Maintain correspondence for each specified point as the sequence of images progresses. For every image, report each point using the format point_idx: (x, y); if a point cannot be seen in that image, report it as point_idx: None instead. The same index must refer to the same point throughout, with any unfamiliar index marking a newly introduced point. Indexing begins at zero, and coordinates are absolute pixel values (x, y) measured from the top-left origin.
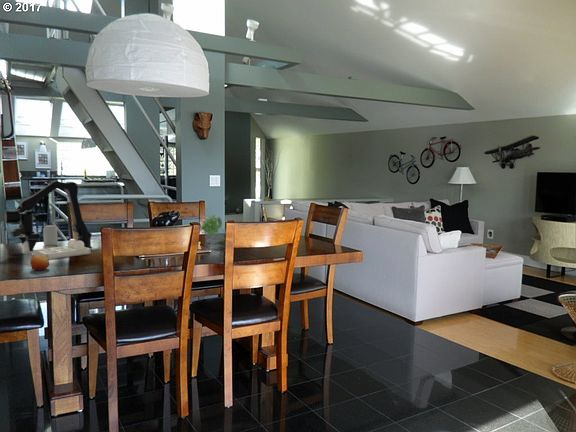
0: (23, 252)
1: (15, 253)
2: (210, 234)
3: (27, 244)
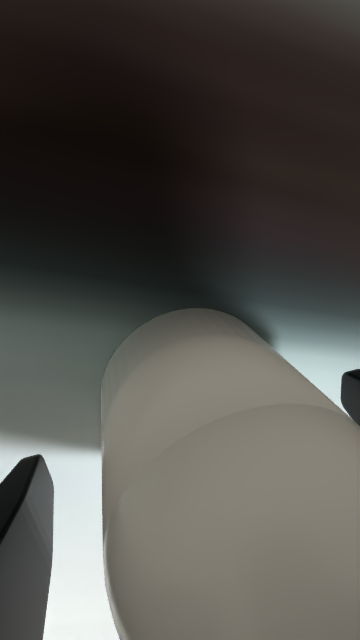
0: (167, 326)
1: (306, 187)
2: None
3: (116, 594)
